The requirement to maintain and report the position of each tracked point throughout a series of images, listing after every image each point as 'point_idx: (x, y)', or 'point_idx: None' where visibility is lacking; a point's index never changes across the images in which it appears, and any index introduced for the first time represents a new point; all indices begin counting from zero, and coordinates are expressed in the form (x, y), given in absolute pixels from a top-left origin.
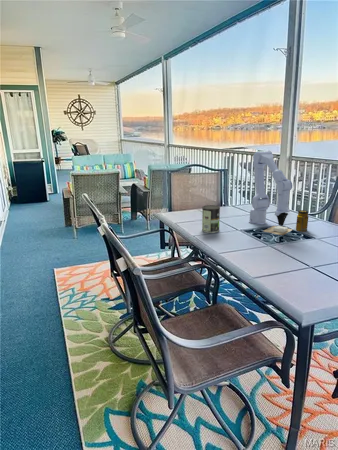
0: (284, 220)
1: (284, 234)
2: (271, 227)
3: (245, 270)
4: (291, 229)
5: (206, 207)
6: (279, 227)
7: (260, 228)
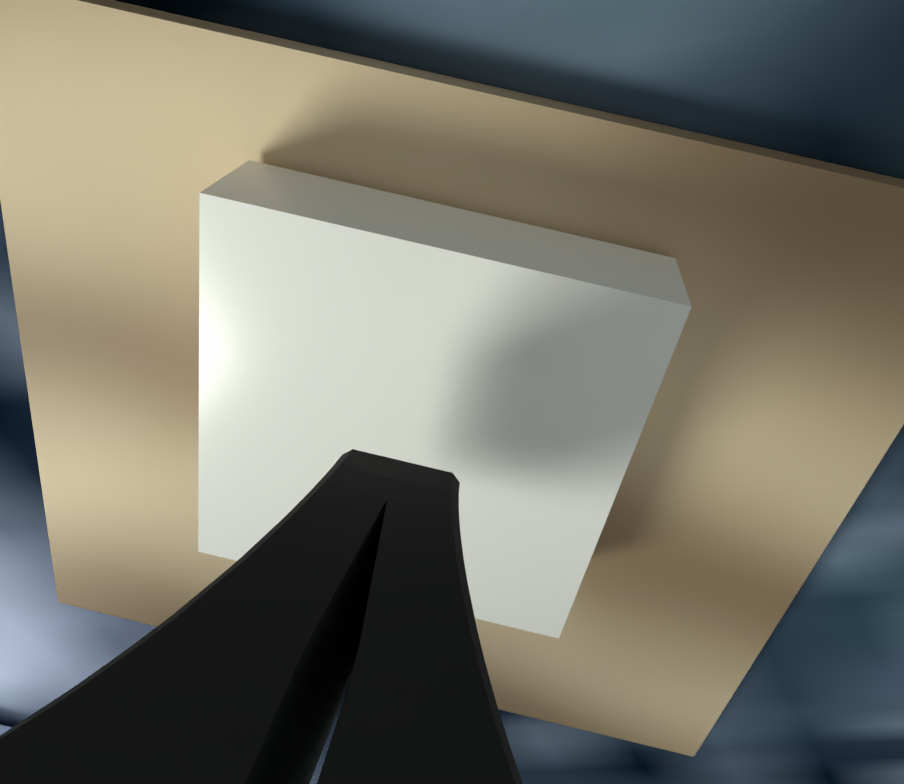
0: (267, 617)
1: (868, 180)
2: None
3: None
4: (18, 40)
5: None
6: None
7: None
